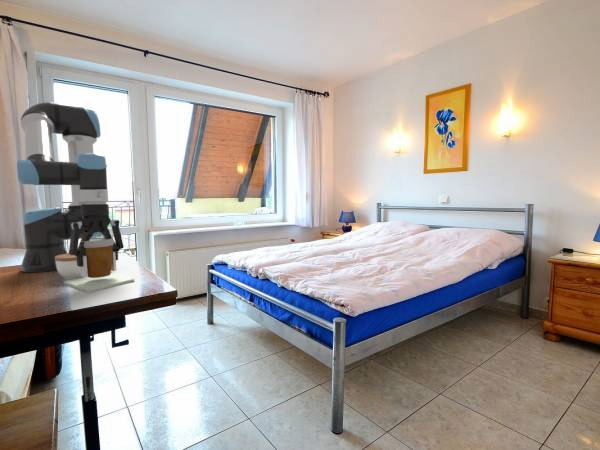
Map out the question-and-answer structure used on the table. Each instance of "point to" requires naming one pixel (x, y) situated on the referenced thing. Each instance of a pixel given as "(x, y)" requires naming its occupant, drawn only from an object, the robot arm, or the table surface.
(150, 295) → the table surface
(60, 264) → the lidded jar
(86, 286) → the sage board
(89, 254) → the disposable coffee cup
